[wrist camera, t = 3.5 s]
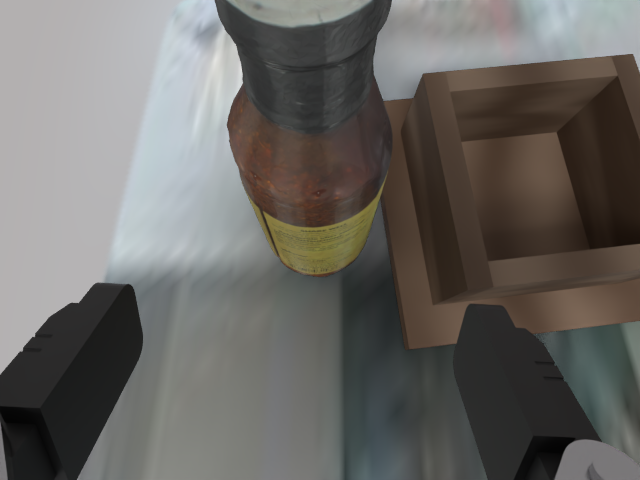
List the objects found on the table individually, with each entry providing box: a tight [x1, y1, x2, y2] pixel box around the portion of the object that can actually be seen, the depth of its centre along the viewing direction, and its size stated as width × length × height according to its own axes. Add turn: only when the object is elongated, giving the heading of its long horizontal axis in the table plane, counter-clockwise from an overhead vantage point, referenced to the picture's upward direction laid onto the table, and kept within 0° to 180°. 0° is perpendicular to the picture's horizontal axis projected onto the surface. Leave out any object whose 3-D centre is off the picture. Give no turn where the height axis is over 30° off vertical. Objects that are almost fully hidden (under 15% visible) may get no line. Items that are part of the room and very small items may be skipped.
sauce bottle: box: [215, 0, 393, 277], centre depth 19 cm, size 7×6×20 cm
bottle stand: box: [380, 54, 640, 350], centre depth 25 cm, size 15×16×7 cm
